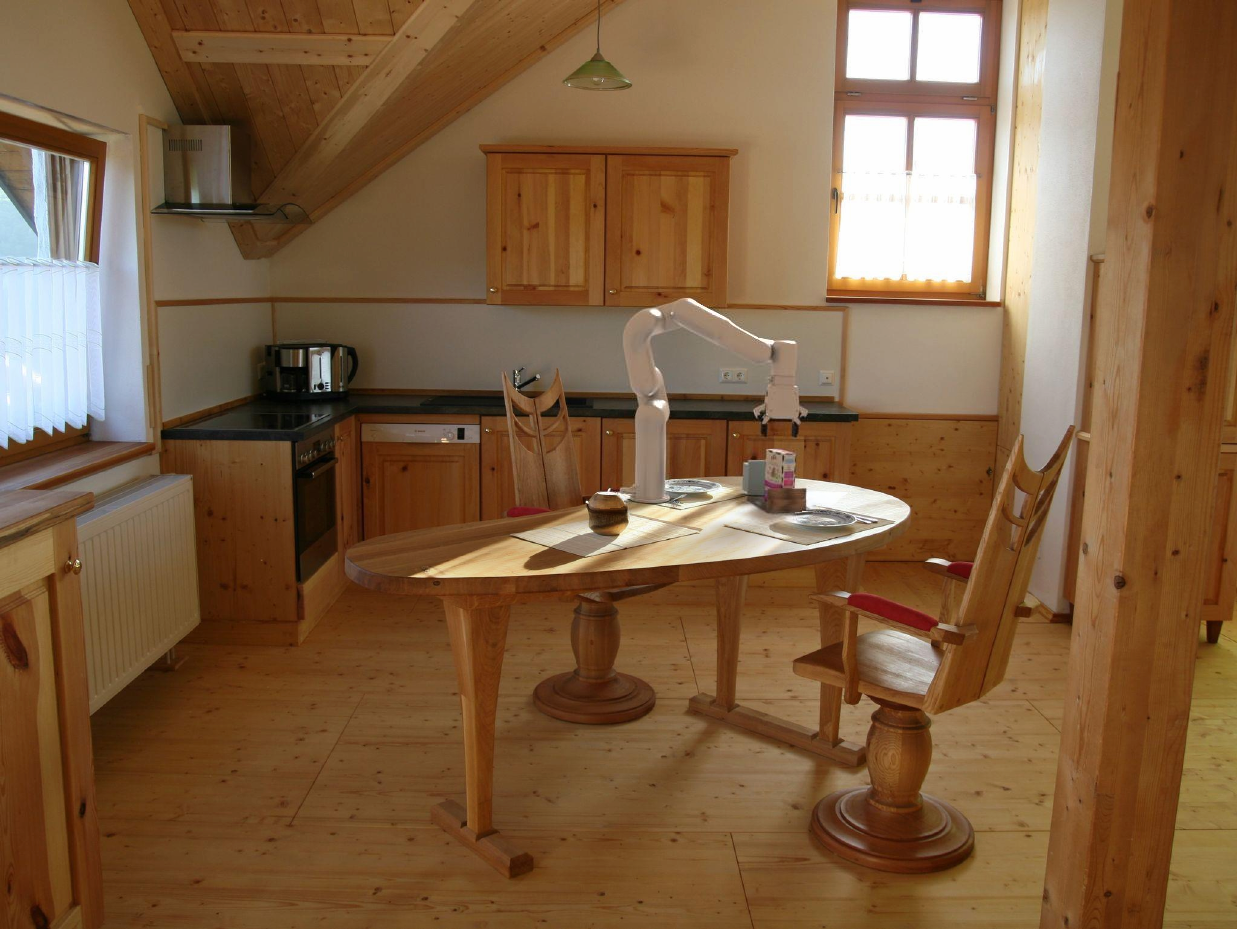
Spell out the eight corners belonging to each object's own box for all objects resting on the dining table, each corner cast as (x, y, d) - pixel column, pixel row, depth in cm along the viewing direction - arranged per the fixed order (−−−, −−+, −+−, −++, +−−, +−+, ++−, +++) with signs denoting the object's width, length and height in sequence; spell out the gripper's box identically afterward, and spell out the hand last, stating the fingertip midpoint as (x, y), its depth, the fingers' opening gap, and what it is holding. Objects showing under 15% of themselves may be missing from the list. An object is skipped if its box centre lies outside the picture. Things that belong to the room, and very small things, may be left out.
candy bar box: (795, 506, 330) (797, 453, 327) (780, 506, 328) (782, 453, 325) (777, 499, 340) (779, 448, 337) (763, 500, 338) (765, 448, 335)
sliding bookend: (747, 494, 345) (748, 461, 343) (739, 489, 354) (740, 456, 352) (783, 494, 347) (784, 460, 345) (774, 488, 356) (775, 456, 354)
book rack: (768, 513, 321) (769, 491, 320) (746, 499, 343) (747, 478, 342) (812, 512, 324) (813, 490, 323) (788, 498, 345) (789, 477, 344)
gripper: (759, 381, 322) (756, 438, 325) (814, 383, 326) (810, 438, 328) (751, 379, 330) (748, 434, 332) (805, 380, 333) (801, 435, 336)
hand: (779, 436), depth 330 cm, fingers open, 9 cm apart
